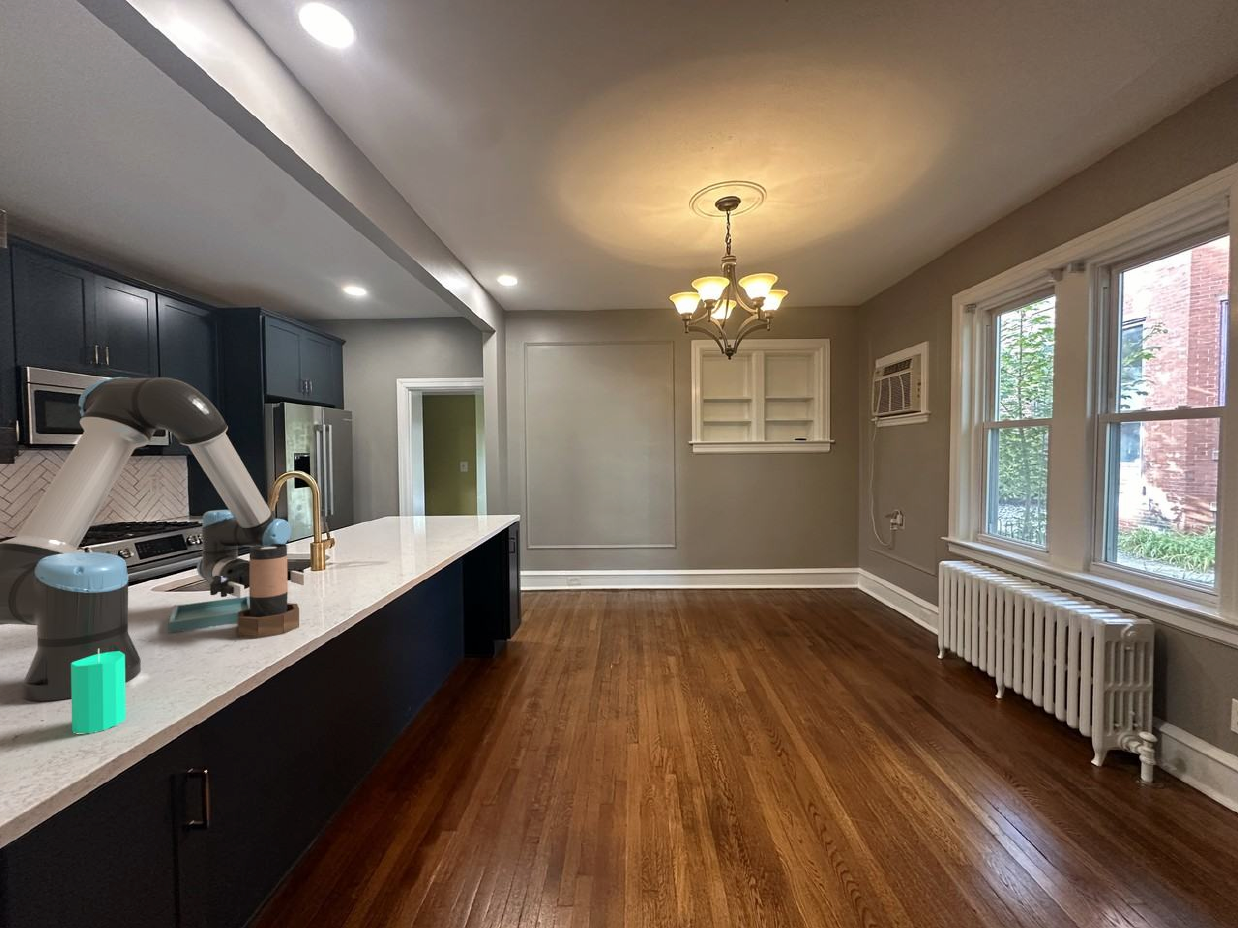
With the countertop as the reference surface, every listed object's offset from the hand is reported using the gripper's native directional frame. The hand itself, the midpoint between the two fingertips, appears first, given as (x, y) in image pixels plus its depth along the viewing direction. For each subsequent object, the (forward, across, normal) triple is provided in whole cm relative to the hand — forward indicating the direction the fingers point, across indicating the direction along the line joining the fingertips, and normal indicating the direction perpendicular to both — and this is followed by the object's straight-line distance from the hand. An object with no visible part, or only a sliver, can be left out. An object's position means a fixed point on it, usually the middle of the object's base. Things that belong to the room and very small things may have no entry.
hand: (275, 585), depth 123 cm
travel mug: (-3, 0, -11) cm, 12 cm away
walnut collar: (-3, 0, -11) cm, 11 cm away
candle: (+23, +35, -11) cm, 44 cm away
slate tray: (-24, +4, -11) cm, 27 cm away
